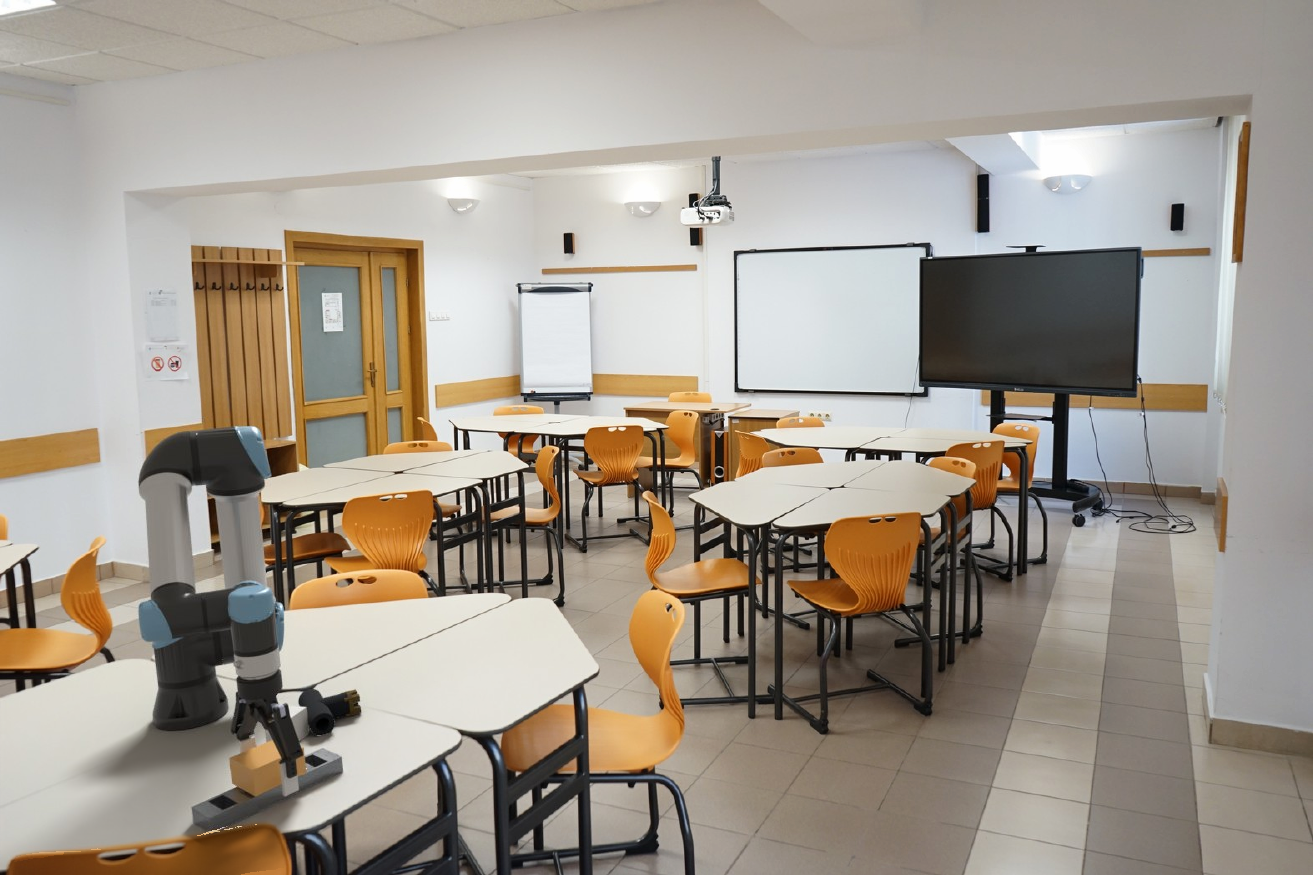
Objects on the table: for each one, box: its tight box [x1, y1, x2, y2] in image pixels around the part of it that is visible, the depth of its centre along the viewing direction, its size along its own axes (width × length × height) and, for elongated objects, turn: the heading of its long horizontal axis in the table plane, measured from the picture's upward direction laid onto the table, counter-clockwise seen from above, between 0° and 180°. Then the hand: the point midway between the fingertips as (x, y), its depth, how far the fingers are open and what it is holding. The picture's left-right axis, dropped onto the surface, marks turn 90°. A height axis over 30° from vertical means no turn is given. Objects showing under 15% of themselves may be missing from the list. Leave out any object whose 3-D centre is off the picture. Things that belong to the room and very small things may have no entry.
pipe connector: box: [297, 688, 362, 737], centre depth 206 cm, size 12×5×15 cm
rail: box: [191, 747, 344, 832], centre depth 174 cm, size 6×26×3 cm, turn 142°
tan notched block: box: [228, 740, 306, 797], centre depth 174 cm, size 8×10×8 cm
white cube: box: [264, 705, 310, 743], centre depth 197 cm, size 6×6×6 cm
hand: (270, 782), depth 174 cm, fingers open, 13 cm apart
